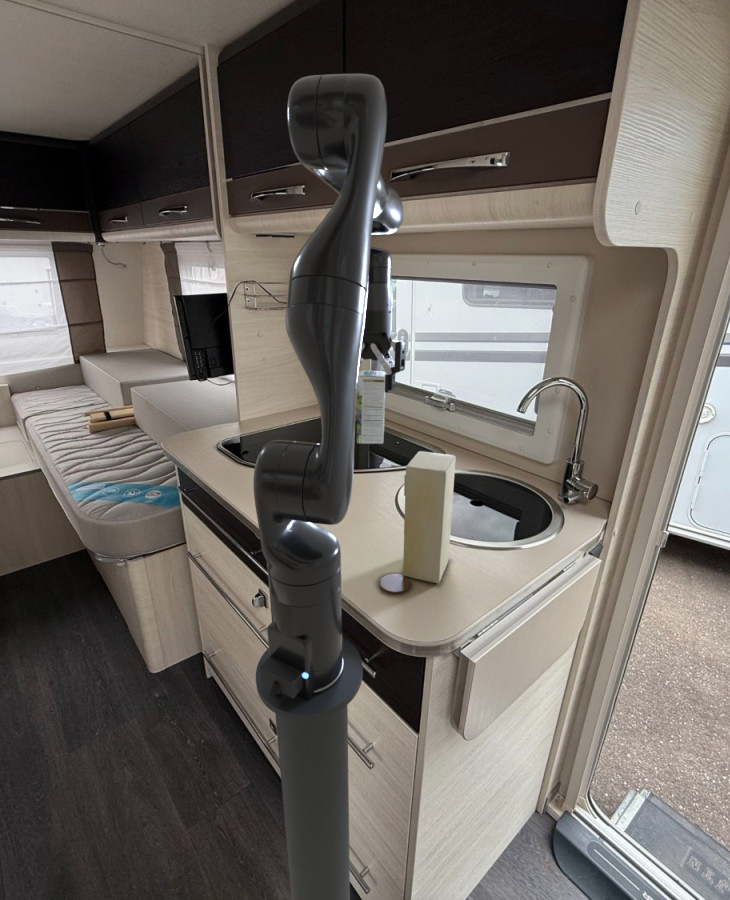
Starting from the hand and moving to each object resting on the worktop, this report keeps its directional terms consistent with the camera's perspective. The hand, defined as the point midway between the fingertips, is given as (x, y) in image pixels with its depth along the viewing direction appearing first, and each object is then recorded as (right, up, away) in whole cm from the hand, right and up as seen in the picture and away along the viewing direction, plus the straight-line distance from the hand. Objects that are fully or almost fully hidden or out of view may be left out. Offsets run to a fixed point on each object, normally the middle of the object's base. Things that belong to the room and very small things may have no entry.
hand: (371, 389), depth 97 cm
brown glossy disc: (+4, -36, -17) cm, 40 cm away
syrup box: (0, -11, +4) cm, 11 cm away
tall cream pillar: (+9, -34, -12) cm, 37 cm away
